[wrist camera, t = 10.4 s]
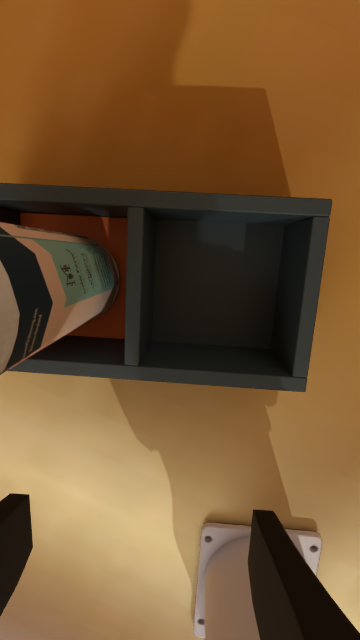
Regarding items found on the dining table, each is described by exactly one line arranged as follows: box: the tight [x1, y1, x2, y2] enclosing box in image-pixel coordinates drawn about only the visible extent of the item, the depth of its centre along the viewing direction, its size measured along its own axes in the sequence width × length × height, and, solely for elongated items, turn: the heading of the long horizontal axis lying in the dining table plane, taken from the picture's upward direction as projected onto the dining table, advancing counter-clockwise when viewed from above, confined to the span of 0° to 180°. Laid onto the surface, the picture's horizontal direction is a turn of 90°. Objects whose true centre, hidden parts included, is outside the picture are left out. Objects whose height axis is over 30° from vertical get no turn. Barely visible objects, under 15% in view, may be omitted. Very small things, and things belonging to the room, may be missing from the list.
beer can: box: [0, 222, 120, 375], centre depth 13 cm, size 5×5×12 cm
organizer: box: [0, 183, 332, 392], centre depth 17 cm, size 8×16×5 cm, turn 87°
